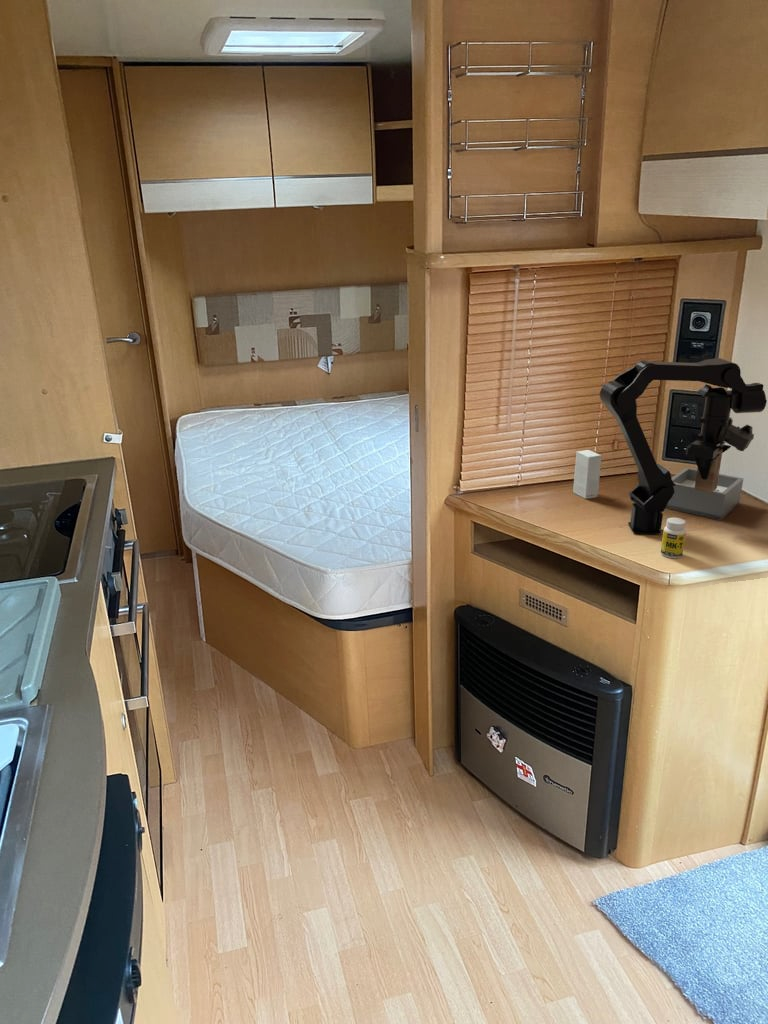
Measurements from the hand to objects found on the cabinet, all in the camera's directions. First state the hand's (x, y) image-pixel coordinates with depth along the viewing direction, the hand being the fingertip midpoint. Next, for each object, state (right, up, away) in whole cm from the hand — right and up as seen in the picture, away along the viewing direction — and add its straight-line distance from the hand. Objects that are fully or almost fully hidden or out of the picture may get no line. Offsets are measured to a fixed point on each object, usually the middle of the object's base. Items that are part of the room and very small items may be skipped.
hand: (707, 476), depth 188 cm
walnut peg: (0, -3, +1) cm, 3 cm away
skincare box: (-23, -4, +26) cm, 35 cm away
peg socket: (+6, -7, +18) cm, 20 cm away
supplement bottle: (-12, -18, -10) cm, 24 cm away
